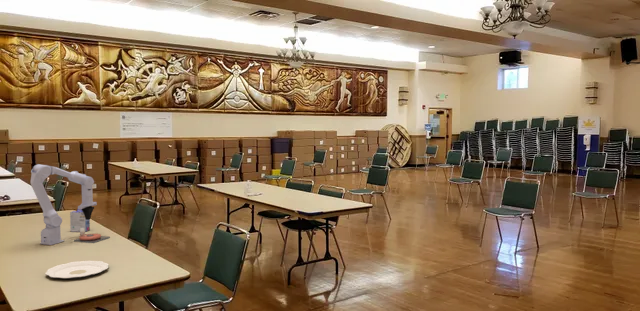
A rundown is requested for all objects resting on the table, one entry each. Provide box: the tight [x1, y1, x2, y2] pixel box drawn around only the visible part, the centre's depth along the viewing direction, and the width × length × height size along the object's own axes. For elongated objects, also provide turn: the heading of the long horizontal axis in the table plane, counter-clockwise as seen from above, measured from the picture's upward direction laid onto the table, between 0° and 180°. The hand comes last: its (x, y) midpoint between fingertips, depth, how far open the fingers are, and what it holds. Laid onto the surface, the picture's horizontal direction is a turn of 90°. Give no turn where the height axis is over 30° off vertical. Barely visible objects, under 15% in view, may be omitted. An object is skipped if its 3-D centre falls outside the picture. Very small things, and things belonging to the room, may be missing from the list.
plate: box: [44, 260, 110, 280], centre depth 214 cm, size 25×25×2 cm
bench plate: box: [73, 235, 111, 244], centre depth 274 cm, size 13×13×1 cm
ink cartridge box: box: [69, 208, 91, 233], centre depth 295 cm, size 10×6×14 cm, turn 89°
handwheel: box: [78, 228, 102, 240], centre depth 273 cm, size 11×11×6 cm
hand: (88, 219), depth 281 cm, fingers closed
